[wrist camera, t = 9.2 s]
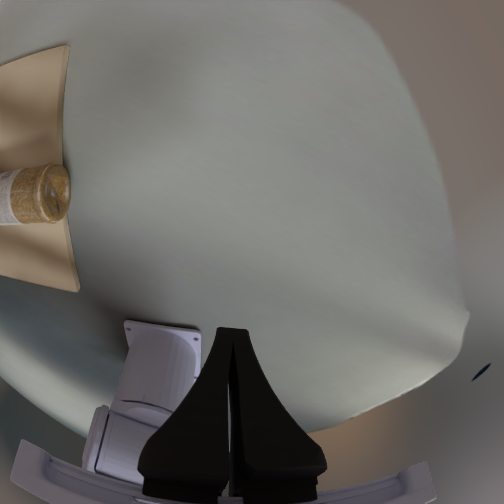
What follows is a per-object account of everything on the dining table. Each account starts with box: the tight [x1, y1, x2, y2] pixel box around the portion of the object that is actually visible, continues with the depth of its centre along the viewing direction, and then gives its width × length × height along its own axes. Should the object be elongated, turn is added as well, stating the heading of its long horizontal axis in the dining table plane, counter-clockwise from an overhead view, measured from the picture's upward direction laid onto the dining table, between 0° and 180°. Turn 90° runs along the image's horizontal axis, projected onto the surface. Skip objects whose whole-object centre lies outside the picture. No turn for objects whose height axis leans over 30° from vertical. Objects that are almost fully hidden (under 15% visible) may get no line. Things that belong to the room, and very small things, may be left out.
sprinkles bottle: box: [0, 162, 71, 226], centre depth 15 cm, size 5×5×14 cm
